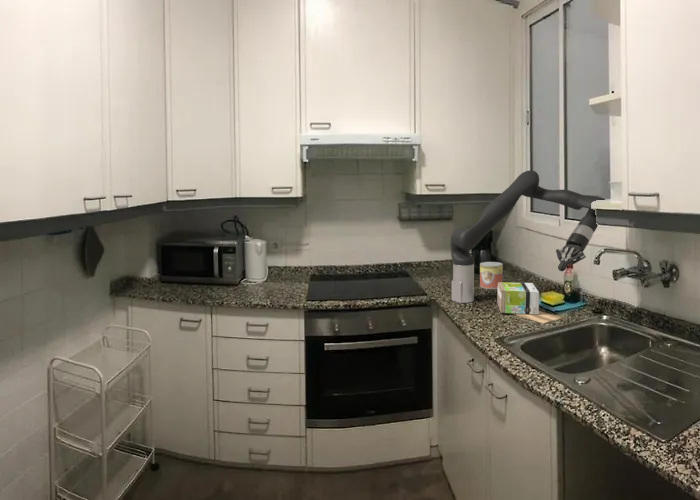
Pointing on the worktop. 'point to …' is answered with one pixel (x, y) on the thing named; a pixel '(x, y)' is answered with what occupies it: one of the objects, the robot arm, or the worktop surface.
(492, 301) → the worktop surface
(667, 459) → the worktop surface
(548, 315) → the wooden cutting board
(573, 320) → the worktop surface
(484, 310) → the worktop surface
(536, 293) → the tea box
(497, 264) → the canned food
